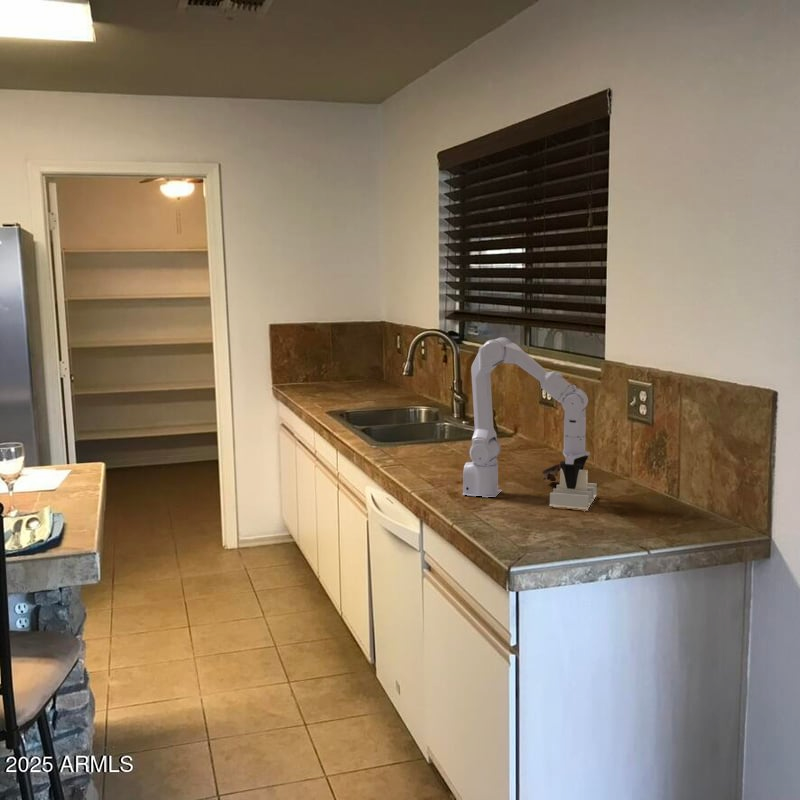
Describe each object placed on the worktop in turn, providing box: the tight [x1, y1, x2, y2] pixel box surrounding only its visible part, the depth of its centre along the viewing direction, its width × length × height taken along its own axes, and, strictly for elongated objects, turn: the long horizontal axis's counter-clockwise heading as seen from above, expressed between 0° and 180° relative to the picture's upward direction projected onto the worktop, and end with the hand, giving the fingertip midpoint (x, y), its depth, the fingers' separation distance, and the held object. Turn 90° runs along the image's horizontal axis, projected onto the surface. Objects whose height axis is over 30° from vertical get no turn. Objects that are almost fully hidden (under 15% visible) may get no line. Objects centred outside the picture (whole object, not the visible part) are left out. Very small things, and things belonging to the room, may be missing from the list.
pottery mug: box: [542, 462, 562, 482], centre depth 252 cm, size 12×10×8 cm
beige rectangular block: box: [559, 469, 589, 491], centre depth 233 cm, size 7×2×8 cm, turn 69°
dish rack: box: [549, 482, 598, 511], centre depth 233 cm, size 10×15×4 cm, turn 159°
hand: (573, 485), depth 233 cm, fingers open, 7 cm apart
